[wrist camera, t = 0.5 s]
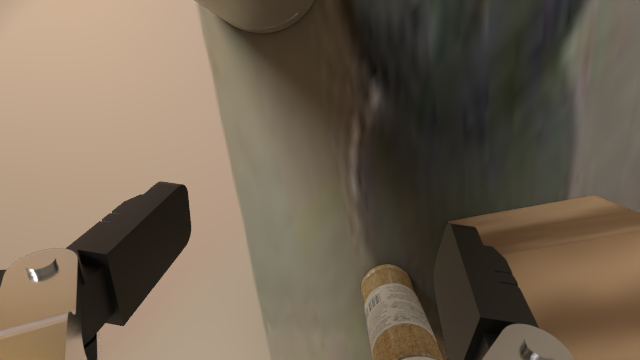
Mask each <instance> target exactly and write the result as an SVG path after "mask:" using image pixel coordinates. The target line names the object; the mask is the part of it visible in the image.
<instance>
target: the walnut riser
mask: <svg viewBox="0 0 640 360" xmlns="http://www.w3.org/2000/svg"><path fill="white" fill-rule="evenodd" d="M447 222H448V223H452V224H459V225H466V226H473V227H476V229H477V231H478V233H479V236H480V238H481V240H482V243H483V245H485V246H492V247H494V248H495V249H496V250H497V251H498V252H499V253H500V254H501V255H502V256H503V257H504V258H505V259H506V261H507V263H508V265H509V267H510V269H511V271H512V276H514V277H515V279H516V281H517V283H518V287H519V288H520V289H521V291H522V293H523V296H524V298H525V300H526V302H527V304H528V306H529V308H530V310H531V312H532V314H533V316H534V318H535V320H536V322H537V324H538V326H539V328H540V329H542V330H544V331H546V332H547V333H549V334H551V335H552V336H554V337H555V338H556V339H558V340H559V341H560V342H561V343H562V344H563V345H564V346H565V347H566V348H567V349H568V350H569V351H570V353H571V354H572V356H573V358H574V360H640V213H638V212H635V211H633V210H630V209H627V208H625V207H622V206H620V205H617V204H615V203H612V202H610V201H607V200H605V199H602V198H600V197H597V196H595V195H593V196H587V197H582V198H576V199H570V200H565V201H559V202H553V203H548V204H542V205H536V206H531V207H525V208H519V209H513V210H508V211H502V212H496V213H491V214H485V215H479V216H474V217H468V218H462V219H457V220H451V221H447Z"/></svg>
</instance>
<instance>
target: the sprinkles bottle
mask: <svg viewBox="0 0 640 360" xmlns="http://www.w3.org/2000/svg"><path fill="white" fill-rule="evenodd" d="M361 293H362V297H363V299H364V303H365V315H366V322H367V328H368V334H369V340H370V346H371V351H372V357H373V360H444V359H443V357H442V355H441V352H440V350H439V348H438V345H437V340H436V338H435V336H434V333H433V331H432V329H431V327H430V324H429V322H428V320H427V317H426V315H425V313H424V311H423V308H422V306H421V304H420V301H419V299H418V297H417V296H416V294H415V292H414V290H413V287H412V283H411V280H410V278H409V276H408V274H407V273H406V272H405V271H404V270H402V269H401V268H399V267H397V266H395V265H390V264H385V265H380V266H376V267H375V268H373V269H371V270H370V271H369V272H368V273H367V274H366V275H365V277H364V278H363V280H362V284H361Z"/></svg>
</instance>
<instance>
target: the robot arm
mask: <svg viewBox="0 0 640 360" xmlns="http://www.w3.org/2000/svg"><path fill="white" fill-rule="evenodd" d="M195 1H196V2H198V3H199V4H201V5H202V6H204V7H205V8H207V9H208V10H210V11H211V12H213V13H214V14H216V15H217V16H219V17H220V18H222V19H223V20H225V21H226V22H228V23H230V24H231V25H233V26H234V27H236V28H239V29H242V30H244V31H247V32H253V33H271V32H276V31H279V30H282V29H285V28H287V27H289V26H290V25H292V24H294V23H295V22H297V21H298V20H299V19H300V18H301V17H302V16H303V15H304V14H305V13H306V12H307V11H308V10H309V8H310V7H311V5H312V4H313V2H314V1H315V0H195ZM190 234H191V221H190V210H189V200H188V191H187V188H186V186H185V185H182V184H174V183H168V182H158V183H157V184H155V185H154V186H153V187H152V188H150V189H149V190H148V191H147V192H146V193H145V194H143V195H138V196H136V197H134V198H131V199H129V200H127V201H125V202H123V203H122V204H121V205H119V206H118V207H117V208H116V209H114V210H113V211H112V214H111V213H110V214H108V215H107V216H106V217H104V218H103V219H102V222H100V221H99V222H98V223H97V224H96V225H94V226H93V227H92V228H91V229H89V230H88V231H87V232H86V233H84V234H83V235H82V236H81V237H79V238H78V239H77V240H76V241H74V242H73V243H72V244H71V245H70V246H68V247H67V248H66V249H63V248H54V249H46V250H41V251H38V252H34V253H32V254H29V255H27V256H25V257H23V258H21V259H19V260H18V261H16V262H15V263H13V264H12V265H11V266H10V267H9V268H8V269H7V270H0V360H101V341H100V334H99V330H100V328H101V327H102V326H103V325H104V324H105V323H109V324H115V325H120V326H124V325H125V323H126V322H127V321H128V320H129V318H130V317H131V316H132V315H133V313H134V312H135V311H136V309H137V308H138V307H139V305H140V304H141V303H142V302H143V300H144V299H145V298H146V297H147V295H148V294H149V293H150V291H151V290H152V289H153V288H154V286H155V285H156V284H157V282H158V281H159V280H160V278H161V277H162V276H163V275H164V273H165V272H166V271H167V270H168V268H169V267H170V266H171V264H172V263H173V262H174V261H175V259H176V258H177V257H178V255H179V254H180V253H181V252H182V250H183V249H184V247H185V246H186V245H187V243H188V241H189V238H190ZM433 286H434V291H435V296H436V302H437V307H438V312H439V317H440V323H441V328H442V333H443V339H444V344H445V349H446V354H447V360H574V358H573V356H572V354H571V353H570V351H569V350H568V349H567V348H566V347H565V346H564V345H563V344H562V343H561V342H560V341H559V340H558V339H556V338H555V337H554V336H552V335H551V334H549V333H547V332H546V331H544V330H542V329H540V328H539V326H538V324H537V322H536V320H535V318H534V316H533V314H532V312H531V310H530V308H529V306H528V304H527V302H526V300H525V298H524V296H523V293H522V291H521V289H520V288H519V287H518V283H517V281H516V279H515V277H514V276H512V271H511V269H510V267H509V265H508V263H507V261H506V259H505V258H504V257H503V256H502V255H501V254H500V253H499V252H498V251H497V250H496V249H495V248H494V247H492V246H485V245H483V243H482V240H481V238H480V236H479V233H478V231H477V229H476V227H473V226H466V225H459V224H452V223H448V224H447V225H446V227H445V230H444V233H443V237H442V241H441V244H440V248H439V251H438V255H437V258H436V262H435V266H434V272H433Z"/></svg>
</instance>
